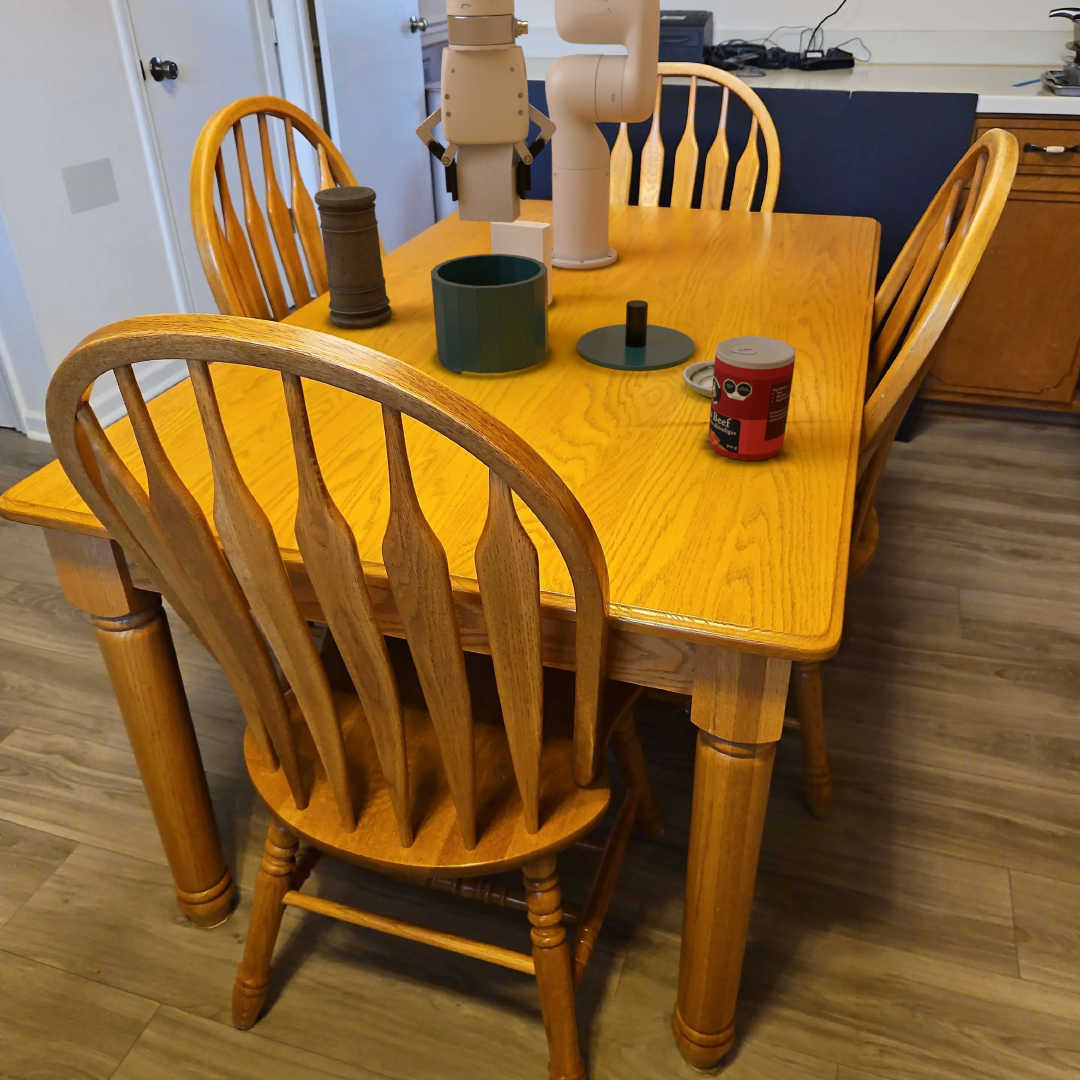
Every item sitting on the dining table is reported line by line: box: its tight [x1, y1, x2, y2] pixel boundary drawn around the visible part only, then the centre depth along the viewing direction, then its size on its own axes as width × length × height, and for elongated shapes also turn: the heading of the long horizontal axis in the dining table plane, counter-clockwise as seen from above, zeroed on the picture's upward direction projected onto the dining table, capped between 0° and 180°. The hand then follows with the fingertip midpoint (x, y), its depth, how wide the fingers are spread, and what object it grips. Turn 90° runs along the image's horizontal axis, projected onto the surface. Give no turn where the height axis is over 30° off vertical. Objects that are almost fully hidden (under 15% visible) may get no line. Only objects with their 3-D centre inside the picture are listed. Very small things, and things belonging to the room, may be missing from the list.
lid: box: [576, 299, 696, 372], centre depth 122 cm, size 16×16×7 cm
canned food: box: [708, 335, 796, 462], centre depth 97 cm, size 8×8×11 cm
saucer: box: [682, 359, 715, 399], centre depth 111 cm, size 10×10×2 cm
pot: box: [430, 253, 550, 375], centre depth 121 cm, size 15×15×12 cm
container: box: [313, 185, 393, 329], centre depth 132 cm, size 9×9×18 cm
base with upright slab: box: [489, 219, 553, 306], centre depth 138 cm, size 9×9×12 cm
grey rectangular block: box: [456, 143, 521, 223], centre depth 111 cm, size 4×7×10 cm, turn 76°
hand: (489, 197), depth 113 cm, fingers closed on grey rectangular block, 7 cm apart
